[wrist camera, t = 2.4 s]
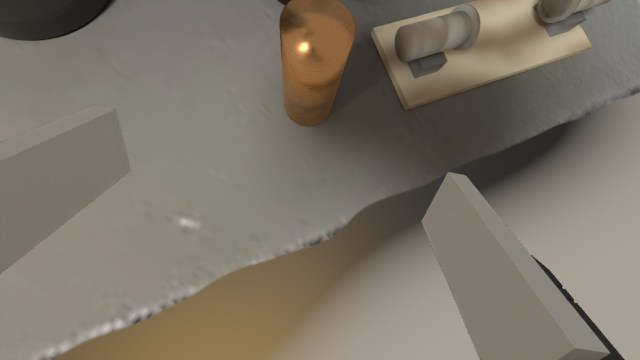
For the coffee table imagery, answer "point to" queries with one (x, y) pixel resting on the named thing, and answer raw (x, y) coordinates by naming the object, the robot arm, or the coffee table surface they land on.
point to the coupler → (313, 56)
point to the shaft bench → (478, 44)
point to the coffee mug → (284, 2)
